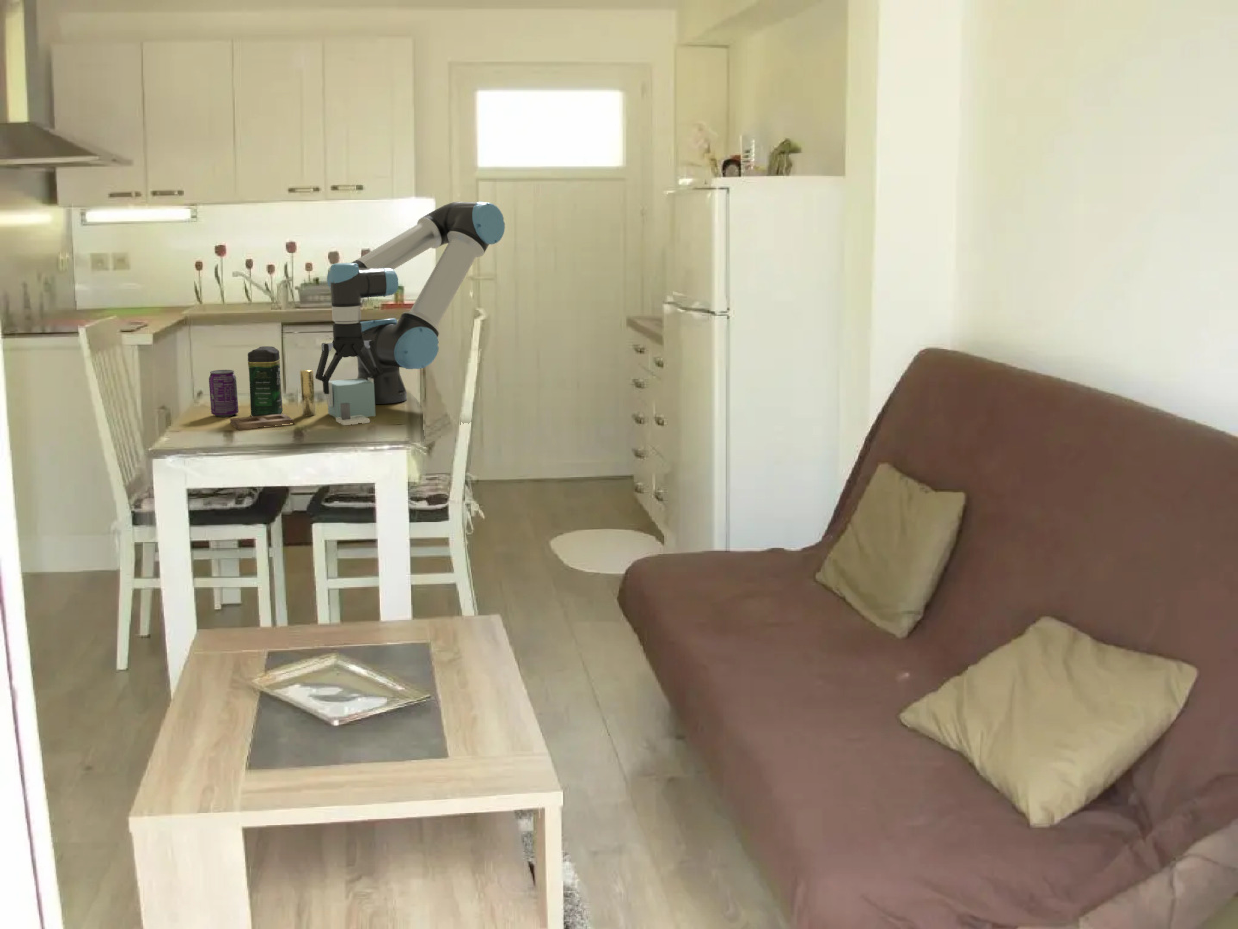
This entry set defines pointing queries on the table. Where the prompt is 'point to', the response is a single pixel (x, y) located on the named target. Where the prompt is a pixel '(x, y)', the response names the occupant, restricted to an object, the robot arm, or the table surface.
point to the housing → (353, 397)
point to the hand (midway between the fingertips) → (351, 404)
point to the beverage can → (223, 393)
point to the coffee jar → (265, 381)
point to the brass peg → (307, 392)
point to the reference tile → (348, 419)
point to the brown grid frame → (260, 421)
